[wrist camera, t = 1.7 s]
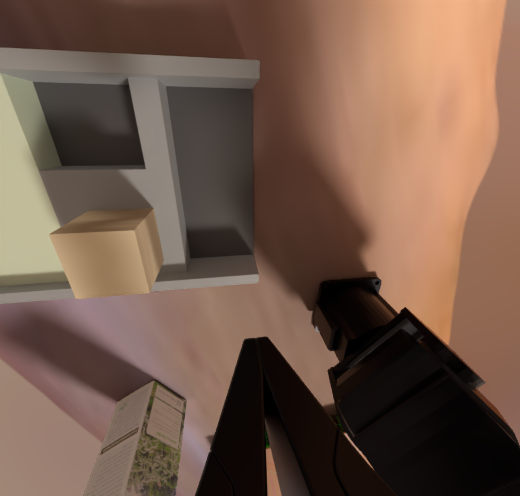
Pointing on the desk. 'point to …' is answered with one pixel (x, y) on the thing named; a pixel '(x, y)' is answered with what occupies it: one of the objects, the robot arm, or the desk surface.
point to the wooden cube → (110, 252)
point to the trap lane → (126, 161)
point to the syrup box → (141, 446)
